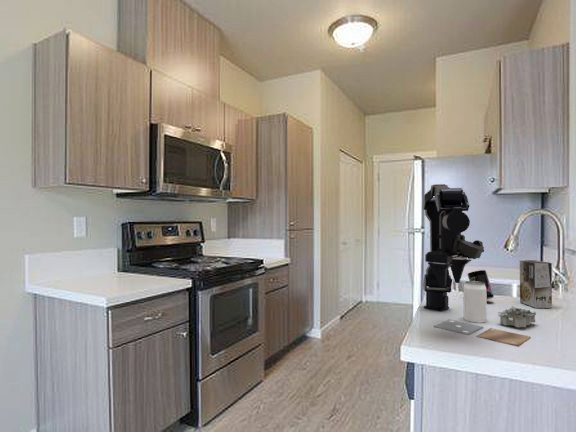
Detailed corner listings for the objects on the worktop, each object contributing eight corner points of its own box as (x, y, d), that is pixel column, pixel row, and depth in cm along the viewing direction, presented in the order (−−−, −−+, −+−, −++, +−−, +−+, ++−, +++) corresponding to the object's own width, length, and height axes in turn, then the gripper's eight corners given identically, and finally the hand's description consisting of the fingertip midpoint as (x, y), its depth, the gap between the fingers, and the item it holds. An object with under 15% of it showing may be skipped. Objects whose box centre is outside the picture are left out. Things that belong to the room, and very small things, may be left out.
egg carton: (522, 329, 105) (521, 314, 105) (496, 324, 111) (494, 310, 111) (540, 321, 110) (538, 307, 111) (513, 317, 117) (512, 304, 117)
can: (481, 317, 119) (481, 280, 119) (490, 323, 112) (490, 284, 112) (460, 317, 119) (460, 280, 119) (468, 323, 113) (468, 284, 113)
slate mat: (433, 327, 108) (433, 325, 108) (449, 321, 115) (449, 319, 115) (468, 336, 101) (468, 333, 101) (483, 328, 107) (483, 326, 107)
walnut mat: (476, 338, 99) (476, 335, 99) (490, 330, 106) (490, 328, 106) (518, 347, 92) (518, 345, 92) (530, 338, 98) (530, 336, 98)
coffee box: (552, 308, 131) (552, 262, 131) (534, 308, 131) (534, 262, 131) (536, 302, 140) (536, 259, 140) (519, 302, 140) (518, 259, 140)
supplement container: (489, 296, 136) (480, 269, 140) (472, 300, 140) (464, 274, 144) (497, 297, 139) (489, 270, 144) (480, 301, 144) (472, 275, 148)
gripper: (465, 233, 94) (465, 294, 94) (492, 231, 107) (492, 284, 107) (424, 232, 103) (424, 287, 103) (453, 230, 115) (453, 279, 115)
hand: (450, 284), depth 107 cm, fingers open, 9 cm apart
